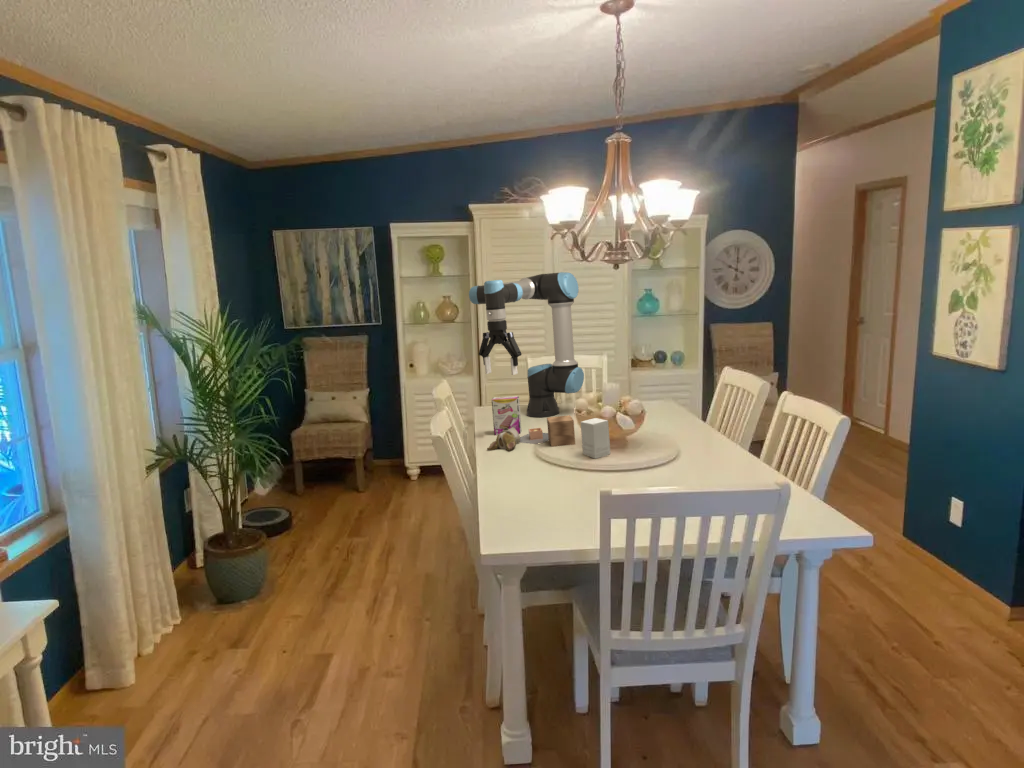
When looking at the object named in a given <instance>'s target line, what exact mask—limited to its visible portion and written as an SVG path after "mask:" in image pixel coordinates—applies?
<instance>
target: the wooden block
mask: <svg viewBox="0 0 1024 768" xmlns="http://www.w3.org/2000/svg"><path fill="white" fill-rule="evenodd" d="M546 423H547V433H548V438H549V440H548V442H549V444H550V447H560V446H561V447H562V446H563V447H564V446H573V445H576V435H575V423H574V419H573V417H572V416H571V415H561V416H560V415H559V416H558V415H557V416H548V417H547V418H546Z"/></svg>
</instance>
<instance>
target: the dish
mask: <svg viewBox="0 0 1024 768" xmlns="http://www.w3.org/2000/svg"><path fill="white" fill-rule="evenodd" d="M534 430H537V431H534ZM542 433H543V429H542V428H541V427H536V428H534V427H533V428H528V434H529V438H530V440H535V439H543V434H542Z"/></svg>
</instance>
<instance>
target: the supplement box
mask: <svg viewBox="0 0 1024 768" xmlns="http://www.w3.org/2000/svg"><path fill="white" fill-rule="evenodd" d="M580 432H581V434H580V435H581V444H582V445H581V447H582V455H585V456H589V458H592V459H599V458H603V457H606V456H609V455H611V444H610V443H611V441H610V428H609V420H608V419H601V418H597V417H594V418H590V419H585V420H583V421H582V420H581V421H580Z"/></svg>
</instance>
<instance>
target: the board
mask: <svg viewBox="0 0 1024 768" xmlns="http://www.w3.org/2000/svg"><path fill="white" fill-rule="evenodd" d="M542 434H543V439H535V440H530V438H529V433H527V434H524V435H522V436H520V442H519V444H520V443H522V444H530V445H532V444H533V445H539V444H538V443H542V444H543V443H546V442H549V438H548V432H542Z"/></svg>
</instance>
